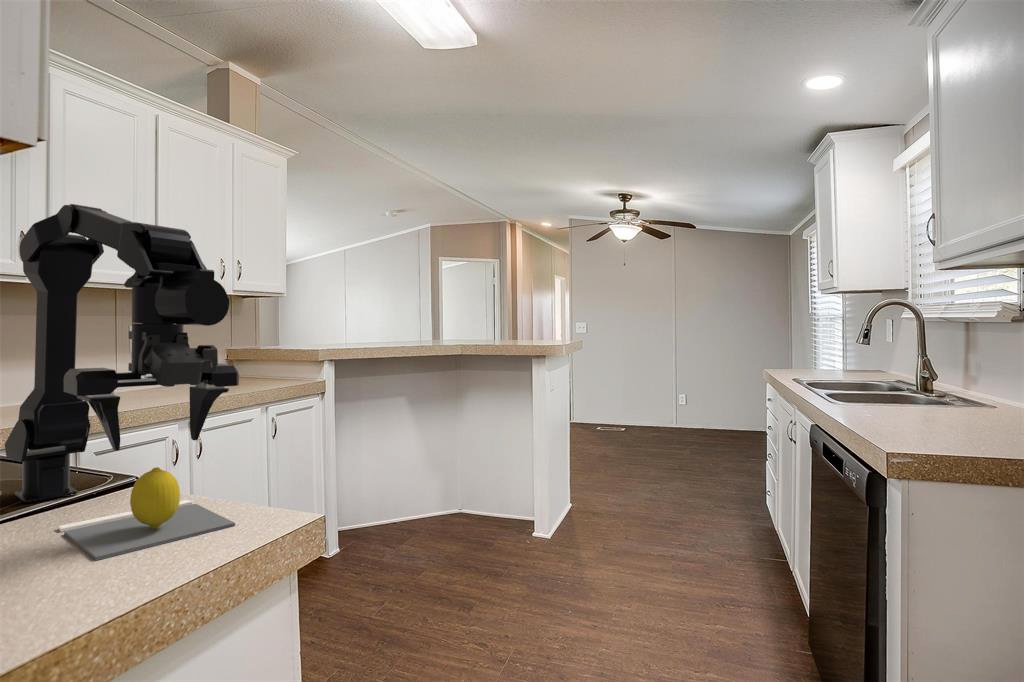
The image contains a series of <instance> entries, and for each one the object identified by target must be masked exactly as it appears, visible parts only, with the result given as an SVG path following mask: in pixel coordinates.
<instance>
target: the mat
mask: <svg viewBox="0 0 1024 682" xmlns="http://www.w3.org/2000/svg"><path fill="white" fill-rule="evenodd" d="M235 526H236V522H234V521H232V520H230V519H228V518H226V517H224V516H223V515H220V514H218V513H216V512H213V511H212V510H210V509H208V508H206V507H203V506H202V505H199V504H198V503H192V505H187V506H182V507H178V509H177V511H176V513H175V514H174V515H173V516H172V517H171V518H170V519H169V520H168V521H166V522H164V523H162V524H161V525H160V526H159V527H158V528H157V529H152V528H151V527H150V526H149V525H146V524H143V523H141V522H139V521H138V520H137V519H136V518H135V517H130V518H125V519H121V520H116V521H111V522H106V523H102V524H97V525H92V526H87V527H82V528H78V529H73V530H68V531H64V532H63V535H64V536H66V537H67V538H68V539H69V540H70V541H71V542H73V543H74V544H75V545H76V546H78V547H79V548H80V549H81V550H83V551H84V552H85V553H86V554H87V555H88V556H90V557H91V558H92V559H94V560H95V561H99V560H104V559H107V558H111V557H116V556H119V555H123V554H127V553H132V552H136V551H140V550H143V549H144V550H145V549H148V548H152V547H156V546H160V545H164V544H168V543H172V542H176V541H179V540H184V539H188V538H191V537H196V536H199V535H204V534H207V533H212V532H216V531H219V530H224V529H227V528H231V527H235Z"/></svg>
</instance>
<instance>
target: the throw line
mask: <svg viewBox="0 0 1024 682" xmlns="http://www.w3.org/2000/svg"><path fill="white" fill-rule="evenodd" d="M192 504H193V501H191V500H189V499H185V500H180V502H179V506H178V507H182V506H187V505H192ZM130 517H134V515H133V513H132V510H131V511H126V512H125V511H124V512H121V513H120V512H119V513H115V514H111V515H106V516H102V517H97V518H91V519H87V520H82V521H77V522H76V521H75V522H71V523H67V524H66V523H65V524H62V525H58V526H57V530H59V532H60V533H64V531H68V530H73V529H78V528H82V527H87V526H92V525H97V524H102V523H106V522H111V521H116V520H121V519H125V518H130Z"/></svg>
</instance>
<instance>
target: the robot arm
mask: <svg viewBox="0 0 1024 682" xmlns="http://www.w3.org/2000/svg"><path fill="white" fill-rule="evenodd" d="M76 234H77V235H76ZM191 239H192V236H191V234H190V233H189V232H188V231H187V230H185V229H182V228H174V227H169V226H161V225H156V224H155V225H154V224H150V223H144V222H137V221H136V222H135V221H131V220H129V219H125V218H123V217H121V216H117V215H115V214H114V215H113V214H112V213H111V214H110V213H109V212H107V211H105V210H103V209H102V208H98V207H93V206H88V205H87V206H86V205H80V204H76V203H75V204H74V203H70V204H64V205H63V206H61V208H60V209H59V211H57V213H55V214H53V215H51V216H49V217H45V218H43V219H41V220H39V221H37V222H34V223H33V224H32V225H31V226H30V228H29V229H28V230H27V232H26V233H25V234H24V236H23V237H22V238H21V240H20V243H19V256H20V258H21V260H22V269H23V274H24V275H25V277H26V278H27V279H28V281H29V282H30V284H31V286H33V288H34V289H35V290H36V311H35V312H36V315H35V316H36V318H35V319H36V320H35V350H34V351H35V352H34V357H35V358H34V384H33V385H34V386H33V390H31V392H30V393H29V395H28V396H27V397H26V399H25V400H24V401H23V402H22V403H21V405H20V407H19V413H18V419H17V420H16V423H15V424H14V426H13V428H12V430H11V432H10V433H9V435H8V437H7V439H6V440H5V442H4V450H5V457H6V459H9V460H13V461H16V462H19V463H21V462H22V467H21V468H22V469H21V470H22V474H21V475H22V480H21V481H22V485H21V486H22V487H21V488H22V489H20V490H16V491H14V496H16V497H17V498H18V499H19V500H21V501H22V500H23V501H24V502H29V503H31V502H30V501H35V502H37V501H36V500H41V501H44V500H43V499H47V500H49V499H48V498H52V499H55V498H54V497H58V498H60V497H59V496H64V497H66V496H65V495H70V496H72V495H71V494H75V495H77V494H76V493H78V491H79V490H77V489H76V488H75V487H73V486H71V483H70V482H71V477H70V474H71V473H70V472H71V454H74V453H85V452H86V448H87V445H88V439H89V435H90V434H89V433H90V429H91V423H90V419H89V416H90V415H89V413H90V408H92V410H93V412H94V413H95V415H96V416H97V418H98V420H99V422H100V424H101V426H102V428H103V431H104V432H105V433H104V434H106V437H107V439H108V441H109V444H110V446H111V448H112V450H114V451H120V449H121V448H120V447H121V430H120V420H119V405H120V401H121V396H118V395H116V394H115V392H114V391H115V390H116V389H118V388H128V387H132V388H133V387H145V386H161V387H167V388H168V387H175V386H176V385H180V386H181V385H190V386H189V431H190V433H189V434H190V439H191V440H192V441H198V440H199V437H200V434H201V432H202V429H203V427H204V424H205V423H206V420H207V417H208V415H209V412H210V410H211V408H212V406H213V405H214V403H215V401H216V400H217V399H218V398H219V397H220V396H221V395H222V394H225V393H228V392H229V391H230V388H228V387H237V386H239V385H240V384H239V383H240V380H239V377H240V373H239V370H238V369H237V368H236V367H235V365H234V364H233V365H232V364H226V363H219V356H218V355H219V354H218V353H219V351H218V348H217V347H216V346H215V345H213V344H199V345H197V347H190V344H189V336H188V332H184V325H185V326H205V327H206V326H209V327H210V326H215V325H216V324H218V323H220V322H221V321H222V320H224V318H225V317H226V316H227V314H228V312H229V309H230V308H229V307H230V297H229V296H228V294H227V291H226V289H225V288H224V287H223V285H222V284H221V283H220V282H219V281H217V280H216V279H215V271H214V270H213V269H207V267H206V265H205V264H204V263H203V260H202V259H201V256H200V254H199V252H198V250H197V248H196V245H195V243H194V242H193V241H192V240H191ZM103 246H106V247H108V248H111V249H114V250H115V251H116V252H117V254H116V257H117V258H118V259H119V261H122V262H123V263H124V264H125V265H127V266H128V267H129V268H131V269H133V270H134V271H135V272H134V273H133V274H132V275H131V276H130V277H128V278H127V279H126V280H125V282H124V284H123V285H124V287H125V288H127V289H129V288H130V289H131V330H128V339H129V340H131V362H128V371H127V372H117V371H116V369H113V368H106V367H87V368H86V367H84V368H80V367H79V368H76V353H77V352H76V351H77V325H78V323H77V321H78V319H77V318H78V297H79V296H78V295H79V293H80V292H81V290H82V289H83V288H85V286H86V285H87V283H88V282H89V280H90V279H91V278H92V273H93V272H92V271H93V265H94V264H95V263H96V262H97V261H98V260H99V258H101V256H102V255H103V254H104V252H105V250H104V247H103ZM142 377H143V378H142ZM90 406H91V407H90ZM23 501H22V502H23ZM24 502H23V503H24Z"/></svg>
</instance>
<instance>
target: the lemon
mask: <svg viewBox="0 0 1024 682" xmlns="http://www.w3.org/2000/svg"><path fill="white" fill-rule="evenodd" d="M129 498H130V500H129V501H130V509H131V511H132V513H133V515H134V517H135V518H136V519H137V520H138V521H139V522H141V523H143V524H146V525H149V526H150V527H151V528H152V529H157V528H158V527H159V526H160V525H161V524H162V523H164V522H166V521H168V520H169V519H170V518H171V517H172V516H173V515H174V514H175V513H176V511H177V509H178V506H179V502H180V501H181V490H180V485H179V482H178V480H177V479H176V476H174V475H173V474H172V473H171V472H169V471H167V470H163V469H161V468H160V467H153V468H152V469H151V470H149V471H147V472H145V473H144V474H142V475H141V476H140V477H139V478H138V479H136V481H135V483H134V484H133V487H132V489H131V492H130V497H129Z"/></svg>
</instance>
